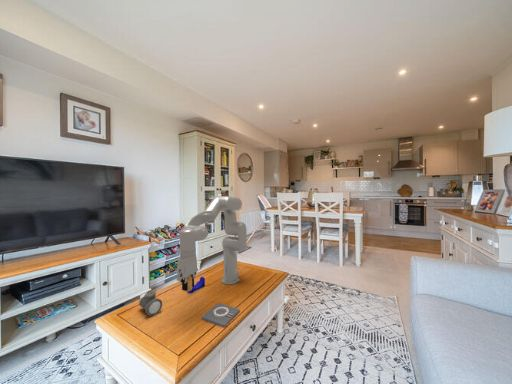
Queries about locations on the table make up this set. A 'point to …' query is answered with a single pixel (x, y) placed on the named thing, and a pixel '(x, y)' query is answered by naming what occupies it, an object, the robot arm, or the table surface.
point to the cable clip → (198, 285)
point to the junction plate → (220, 314)
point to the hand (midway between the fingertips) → (188, 287)
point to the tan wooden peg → (189, 283)
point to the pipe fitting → (151, 303)
